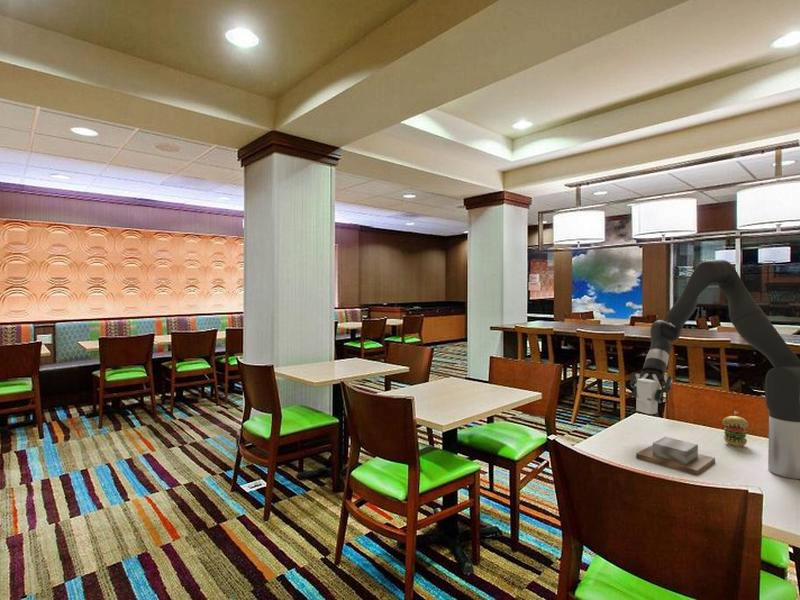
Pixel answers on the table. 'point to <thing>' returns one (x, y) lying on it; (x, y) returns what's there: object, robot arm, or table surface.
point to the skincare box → (646, 396)
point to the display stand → (676, 455)
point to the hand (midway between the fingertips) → (645, 398)
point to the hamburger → (735, 430)
